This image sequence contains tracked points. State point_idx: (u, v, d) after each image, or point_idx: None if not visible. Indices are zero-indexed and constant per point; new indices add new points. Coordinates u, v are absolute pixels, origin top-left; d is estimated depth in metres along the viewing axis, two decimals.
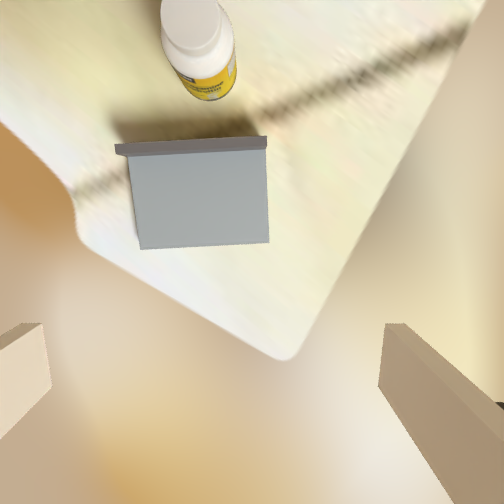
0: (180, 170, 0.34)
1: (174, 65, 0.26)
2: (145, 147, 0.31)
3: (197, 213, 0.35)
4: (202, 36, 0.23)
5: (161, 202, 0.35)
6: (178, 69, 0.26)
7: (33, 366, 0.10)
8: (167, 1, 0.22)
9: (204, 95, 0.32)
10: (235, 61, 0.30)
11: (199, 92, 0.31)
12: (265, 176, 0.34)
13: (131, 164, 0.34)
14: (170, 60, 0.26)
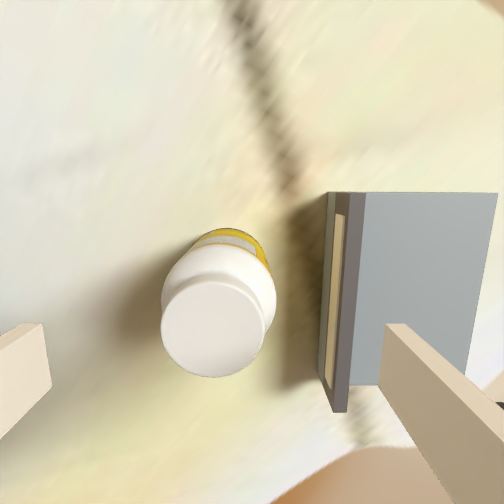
0: (362, 320, 0.23)
1: None
2: (343, 374, 0.21)
3: (427, 302, 0.23)
4: (246, 313, 0.13)
5: None
6: (263, 334, 0.17)
7: (33, 366, 0.10)
8: (192, 364, 0.13)
9: None
10: (231, 234, 0.20)
11: None
12: (390, 194, 0.21)
13: None
14: None
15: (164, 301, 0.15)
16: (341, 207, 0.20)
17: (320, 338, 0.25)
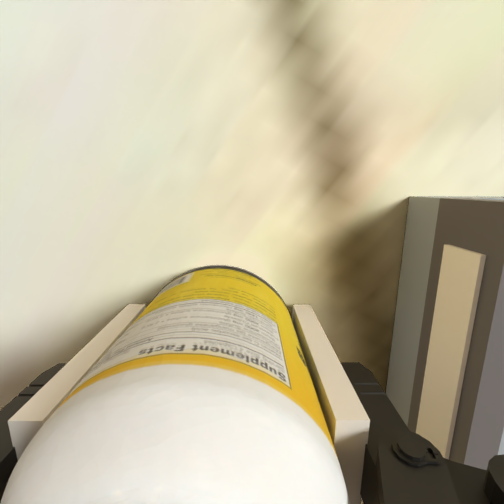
0: None
1: None
2: None
3: None
4: None
5: None
6: None
7: None
8: None
9: None
10: (223, 293, 0.09)
11: None
12: None
13: None
14: None
15: None
16: (466, 232, 0.09)
17: None
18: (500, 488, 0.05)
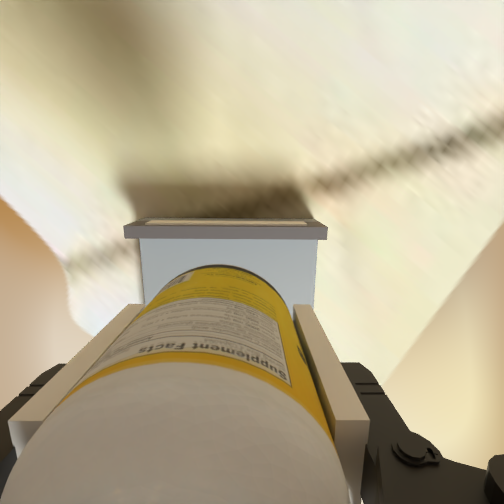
0: (206, 252, 0.26)
1: None
2: (164, 232, 0.23)
3: None
4: None
5: None
6: None
7: None
8: None
9: None
10: (223, 291, 0.09)
11: None
12: (314, 265, 0.27)
13: (143, 241, 0.26)
14: None
15: None
16: (311, 224, 0.24)
17: (181, 218, 0.27)
18: (500, 488, 0.05)
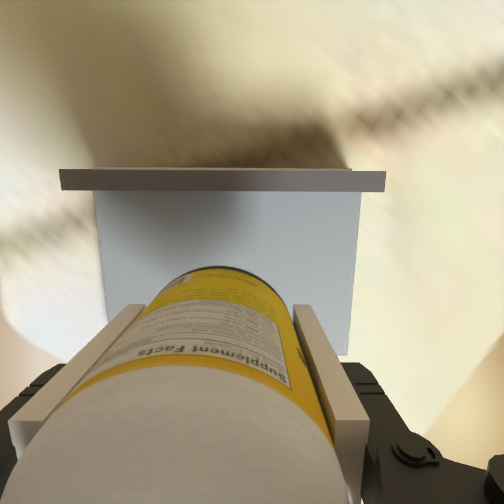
0: (194, 220, 0.18)
1: None
2: (125, 180, 0.14)
3: None
4: None
5: (155, 276, 0.19)
6: None
7: None
8: None
9: None
10: (223, 293, 0.09)
11: None
12: (355, 240, 0.18)
13: (100, 204, 0.18)
14: None
15: None
16: None
17: None
18: (500, 488, 0.05)
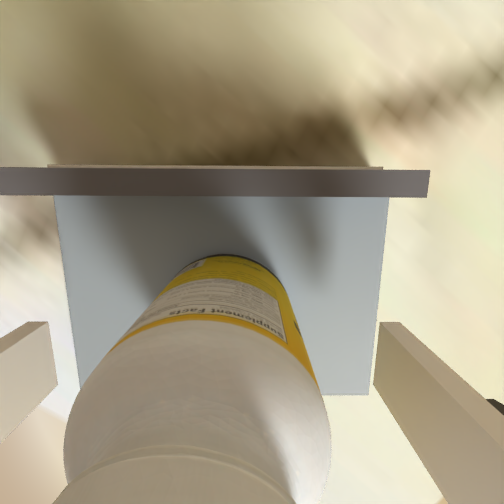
0: (180, 232, 0.14)
1: None
2: (84, 182, 0.11)
3: None
4: None
5: (132, 300, 0.15)
6: None
7: (40, 364, 0.11)
8: None
9: None
10: (232, 274, 0.11)
11: None
12: (380, 256, 0.15)
13: (63, 211, 0.14)
14: None
15: (65, 461, 0.06)
16: None
17: None
18: None
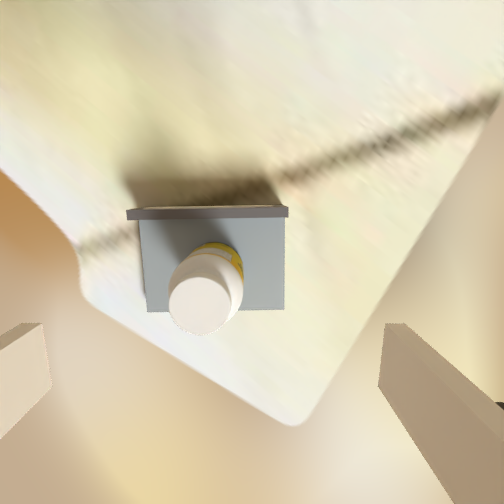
0: (193, 233, 0.32)
1: (231, 317, 0.25)
2: (158, 214, 0.29)
3: None
4: (219, 295, 0.22)
5: (172, 265, 0.33)
6: None
7: (33, 366, 0.10)
8: (187, 326, 0.22)
9: None
10: (215, 247, 0.29)
11: None
12: (283, 242, 0.33)
13: (142, 225, 0.32)
14: (226, 320, 0.25)
15: (170, 290, 0.24)
16: (276, 206, 0.30)
17: None
18: None
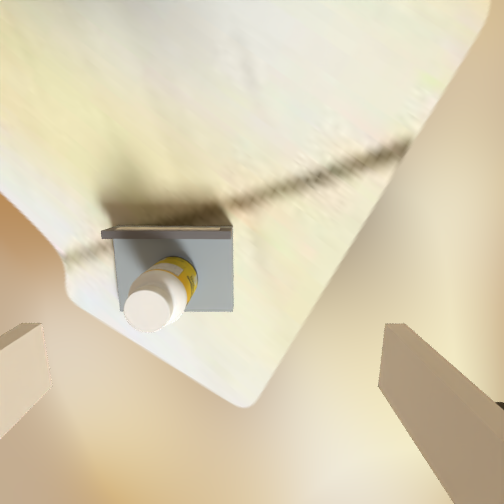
0: (158, 248, 0.40)
1: (176, 319, 0.33)
2: (126, 235, 0.36)
3: None
4: (161, 304, 0.29)
5: (140, 273, 0.40)
6: (179, 316, 0.33)
7: (33, 366, 0.10)
8: (137, 326, 0.29)
9: (195, 287, 0.38)
10: (171, 262, 0.36)
11: (193, 292, 0.37)
12: (231, 257, 0.40)
13: (115, 241, 0.39)
14: (173, 321, 0.33)
15: (129, 297, 0.32)
16: (223, 229, 0.38)
17: (142, 226, 0.40)
18: None
